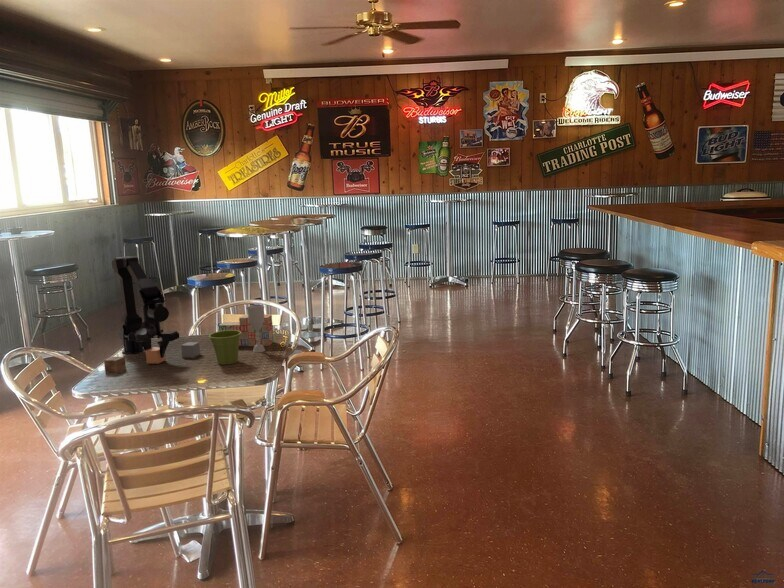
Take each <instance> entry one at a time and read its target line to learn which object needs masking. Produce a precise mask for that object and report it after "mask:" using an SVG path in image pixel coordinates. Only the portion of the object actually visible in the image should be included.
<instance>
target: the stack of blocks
mask: <svg viewBox="0 0 784 588" xmlns="http://www.w3.org/2000/svg"><path fill="white" fill-rule="evenodd" d="M273 326H274V325H273V315H272V314H264V321H263V324H262V327H261V329H259V334H260V335H259V338H260V341H259V342H260V344H262V345H263V347H267V346H268V347H269V346H271V345H272V344H273V343H274V330H273V328H274V327H273ZM225 330H238V331H241V334H240V339H239V347H254V346H255V345H257V340H256V338H257V336H256V330H255V329H253V327H252V326H251V324H250V322H249V319H248V314H243V315H241V316H239V318H238V321H223V322H222V323H220V324H219V325H218V332H219V331H225Z"/></svg>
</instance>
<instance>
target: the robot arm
mask: <svg viewBox="0 0 784 588" xmlns="http://www.w3.org/2000/svg"><path fill="white" fill-rule="evenodd" d="M111 267H112V269H113V272H114V274H115V275H116V277H118V279H119V283H120V284H119V285H120V292H121V299H122V307H123V316H122V317H121V320H120V327H119V330H118V333H117V334H118V338H119V339H120V340H122V342H123V343H122V344H123V349H124V350H123V351H122V352H121V354H137V353H140V352H142V351H144V352H145V351H146V350H148V349H150V348H152V339H159V340H158V341H157V342H156V343H157V345H158V346H159V347H160V356H161V358H163V357H164V354H165V355H166V350H167V348H168V345H169V343H170V342H173V341H175V340H178V339H180V333H179V332H178V331H177V330H168V331H166V332H164V329H162V327H161V323H163V322H165V321H167V320H168V318H169V315H170V312H169V309H168V308H167V307H166V306H163V304H165V297H164V295H163V293H162V291H161V289H160V288H159V286H158V285H157V284H156V282H155V281H153V280H151V279H149V277H148V276H147V274H146V272H145V271H144V269H143V267H142V265H141V264H140V260H139V258H138V256H131V255H127V256H118V257H114V258H113V260H111ZM133 282H134V283H135V285H136V289H137V290H136V295H137V296H136V297H137V299H138V301H139V302H140V305H141V308H142V316H143V318H142V316H140V315H139V314H138V313H137V307H136V299H135V290H134V283H133Z"/></svg>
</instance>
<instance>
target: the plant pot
mask: <svg viewBox="0 0 784 588" xmlns="http://www.w3.org/2000/svg"><path fill="white" fill-rule="evenodd" d="M240 334H241V331H238V330H225V331H219V330H218V331H215V332H212V333H210V334H209V335H208V337H209V338H210V341H211V343H212V345H213V350H214V354H215V356H216V357H215V358H216V359H217V363H218V364H219V365H221V366H225V365H233V364H236V363H237V362H238V360H239V347H240V346H239V339H240Z"/></svg>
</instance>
